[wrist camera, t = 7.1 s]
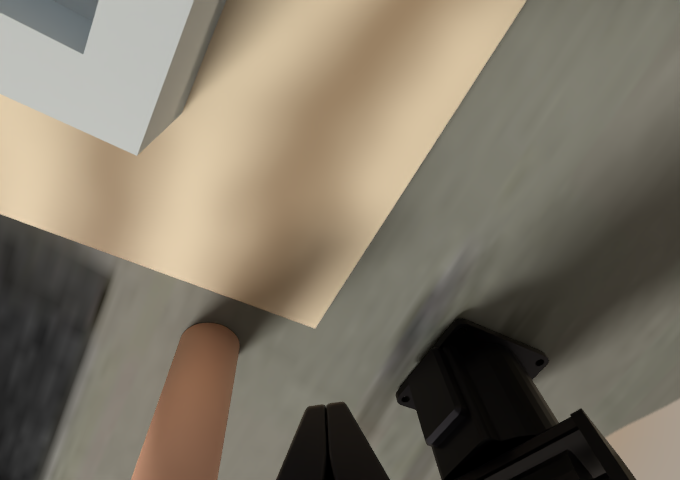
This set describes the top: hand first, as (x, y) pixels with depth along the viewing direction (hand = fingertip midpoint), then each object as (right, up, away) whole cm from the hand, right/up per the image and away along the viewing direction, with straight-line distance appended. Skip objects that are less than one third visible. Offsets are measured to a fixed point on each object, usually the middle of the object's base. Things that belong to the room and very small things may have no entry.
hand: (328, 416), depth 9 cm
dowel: (-6, -2, +13) cm, 14 cm away
